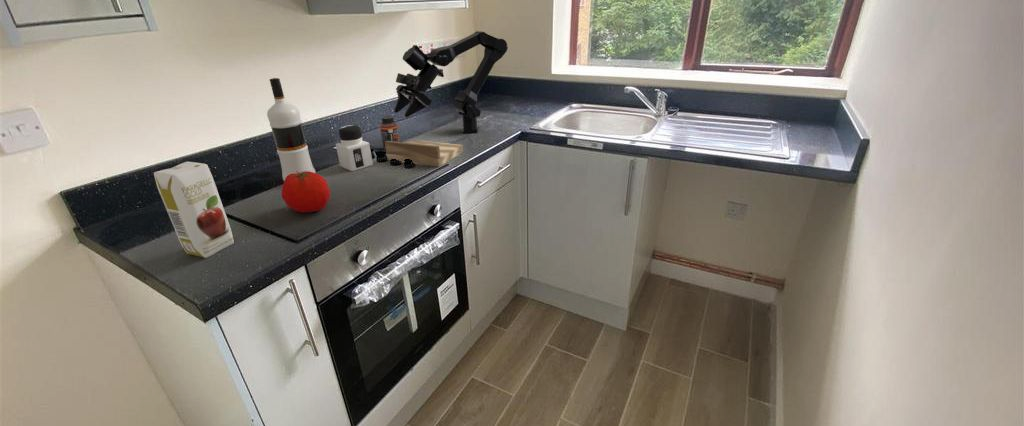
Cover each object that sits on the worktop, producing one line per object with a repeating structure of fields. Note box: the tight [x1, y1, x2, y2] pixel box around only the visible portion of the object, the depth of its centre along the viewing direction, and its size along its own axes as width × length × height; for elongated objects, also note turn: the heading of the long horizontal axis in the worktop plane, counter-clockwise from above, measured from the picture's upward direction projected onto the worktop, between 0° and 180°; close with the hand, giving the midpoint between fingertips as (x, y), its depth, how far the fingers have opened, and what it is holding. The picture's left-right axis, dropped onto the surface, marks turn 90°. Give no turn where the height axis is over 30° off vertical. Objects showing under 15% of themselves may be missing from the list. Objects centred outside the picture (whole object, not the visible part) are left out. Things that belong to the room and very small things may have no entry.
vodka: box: [266, 77, 317, 182], centre depth 128 cm, size 9×9×30 cm
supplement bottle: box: [379, 115, 400, 150], centre depth 159 cm, size 6×6×11 cm
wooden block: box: [385, 139, 464, 168], centre depth 150 cm, size 16×20×6 cm
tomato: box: [280, 171, 331, 213], centre depth 113 cm, size 11×13×10 cm
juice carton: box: [153, 161, 235, 259], centre depth 94 cm, size 8×9×19 cm
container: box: [335, 124, 374, 172], centre depth 142 cm, size 8×8×13 cm
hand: (400, 114), depth 159 cm, fingers open, 9 cm apart
